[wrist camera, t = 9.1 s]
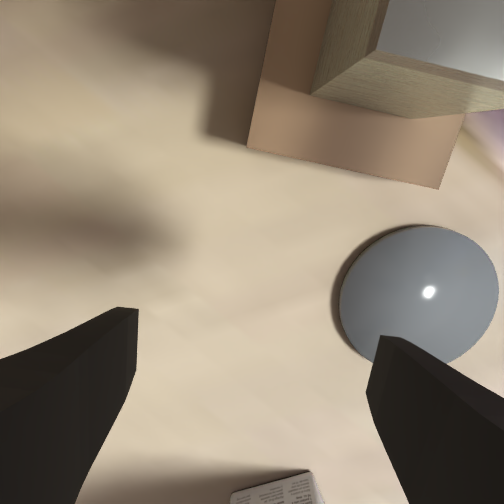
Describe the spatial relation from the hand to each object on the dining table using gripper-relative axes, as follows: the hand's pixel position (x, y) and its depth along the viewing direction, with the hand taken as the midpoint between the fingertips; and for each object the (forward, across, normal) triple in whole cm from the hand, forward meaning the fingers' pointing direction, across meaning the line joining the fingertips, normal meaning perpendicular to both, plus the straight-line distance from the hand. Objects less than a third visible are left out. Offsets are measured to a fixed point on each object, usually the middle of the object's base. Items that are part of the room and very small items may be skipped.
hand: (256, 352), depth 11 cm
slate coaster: (+10, -10, +2) cm, 14 cm away
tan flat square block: (+10, -4, -10) cm, 15 cm away
